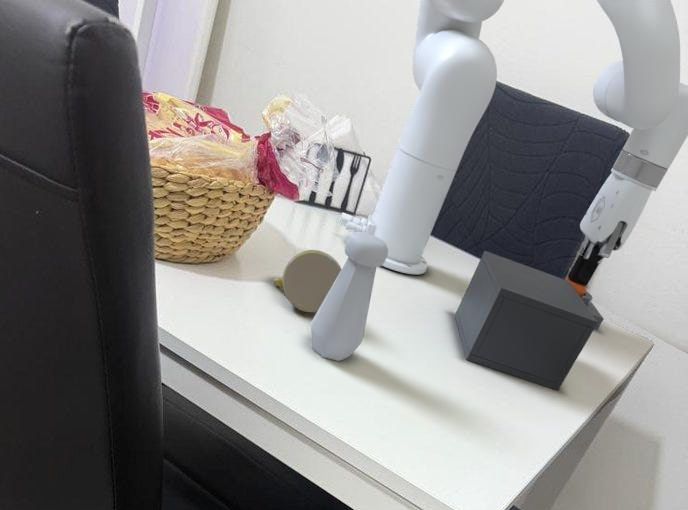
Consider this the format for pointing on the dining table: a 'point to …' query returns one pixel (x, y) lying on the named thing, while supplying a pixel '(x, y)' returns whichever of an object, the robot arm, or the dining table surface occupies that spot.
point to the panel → (592, 308)
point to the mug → (309, 279)
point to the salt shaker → (348, 299)
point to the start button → (578, 287)
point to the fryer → (523, 321)
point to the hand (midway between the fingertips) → (576, 281)
